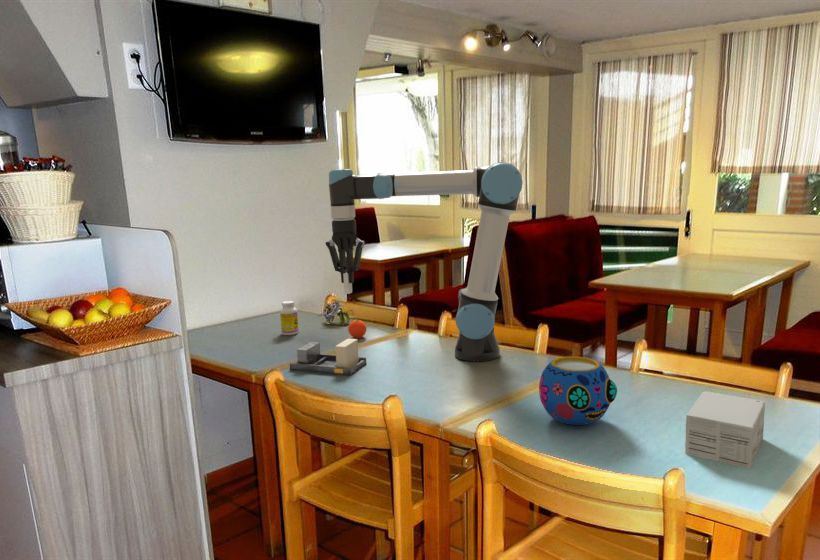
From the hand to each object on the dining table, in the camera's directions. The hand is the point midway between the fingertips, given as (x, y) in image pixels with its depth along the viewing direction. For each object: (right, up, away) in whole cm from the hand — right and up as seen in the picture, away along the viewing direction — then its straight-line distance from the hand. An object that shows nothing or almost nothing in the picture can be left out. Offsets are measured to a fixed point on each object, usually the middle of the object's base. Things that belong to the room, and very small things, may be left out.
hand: (348, 292), depth 199 cm
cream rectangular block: (0, -24, +3) cm, 24 cm away
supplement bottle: (-28, -17, +49) cm, 59 cm away
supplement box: (+90, -33, -60) cm, 113 cm away
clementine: (-1, -18, +40) cm, 44 cm away
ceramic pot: (+61, -31, -44) cm, 81 cm away
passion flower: (-11, -14, +64) cm, 66 cm away
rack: (-7, -24, +5) cm, 26 cm away
